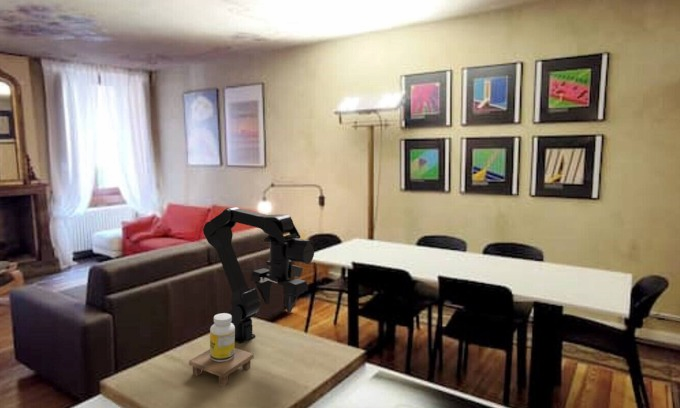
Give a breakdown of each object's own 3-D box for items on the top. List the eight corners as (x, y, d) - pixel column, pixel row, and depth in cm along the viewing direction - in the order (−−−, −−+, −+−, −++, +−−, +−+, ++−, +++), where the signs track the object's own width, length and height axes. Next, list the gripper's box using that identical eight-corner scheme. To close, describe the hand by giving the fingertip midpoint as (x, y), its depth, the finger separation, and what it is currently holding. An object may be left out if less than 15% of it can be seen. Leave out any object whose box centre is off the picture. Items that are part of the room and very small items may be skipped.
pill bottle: (213, 350, 125) (214, 311, 123) (237, 351, 125) (237, 312, 123) (206, 362, 118) (207, 320, 117) (231, 363, 118) (231, 321, 117)
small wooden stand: (189, 374, 120) (189, 360, 119) (220, 356, 130) (220, 343, 129) (223, 388, 114) (223, 373, 114) (253, 367, 125) (253, 354, 124)
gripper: (321, 259, 132) (319, 309, 135) (276, 247, 143) (275, 293, 146) (295, 266, 124) (293, 320, 126) (250, 253, 135) (249, 303, 137)
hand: (278, 308), depth 134 cm, fingers open, 9 cm apart
